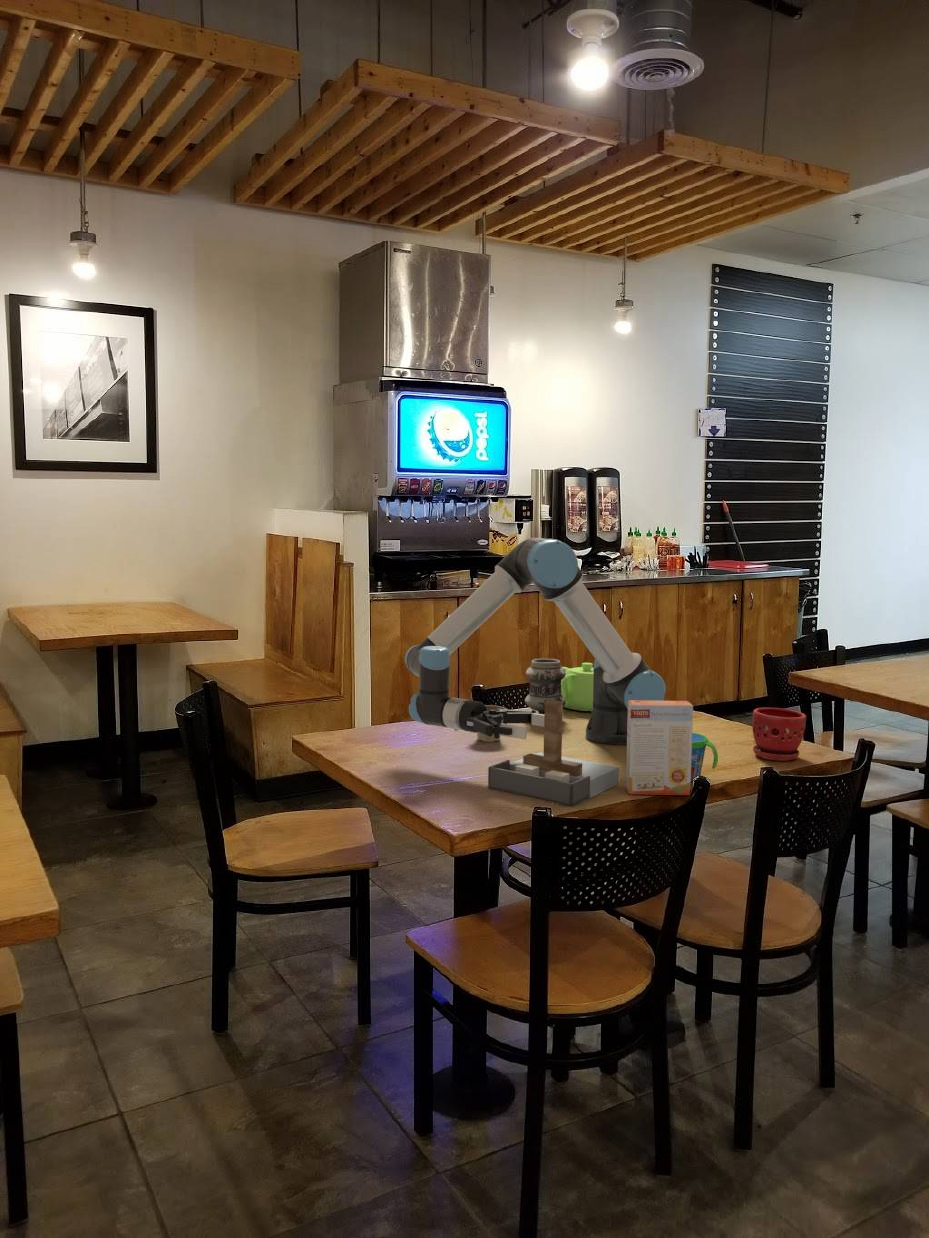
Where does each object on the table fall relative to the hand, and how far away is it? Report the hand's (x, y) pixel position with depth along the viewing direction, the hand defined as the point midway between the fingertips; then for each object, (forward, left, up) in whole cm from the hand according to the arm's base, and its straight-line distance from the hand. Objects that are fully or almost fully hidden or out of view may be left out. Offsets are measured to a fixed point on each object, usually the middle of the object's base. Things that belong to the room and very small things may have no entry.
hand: (541, 727), depth 231 cm
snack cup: (-26, +24, -14) cm, 38 cm away
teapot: (-83, -33, -14) cm, 91 cm away
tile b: (+3, +7, -11) cm, 13 cm away
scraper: (0, +3, -9) cm, 10 cm away
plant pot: (-60, +35, -14) cm, 71 cm away
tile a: (+3, -1, -11) cm, 11 cm away
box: (+6, +3, -13) cm, 15 cm away
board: (-5, +3, -13) cm, 15 cm away
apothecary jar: (-59, -35, -14) cm, 70 cm away
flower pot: (-28, -34, -14) cm, 46 cm away
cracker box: (-12, +24, -14) cm, 30 cm away
